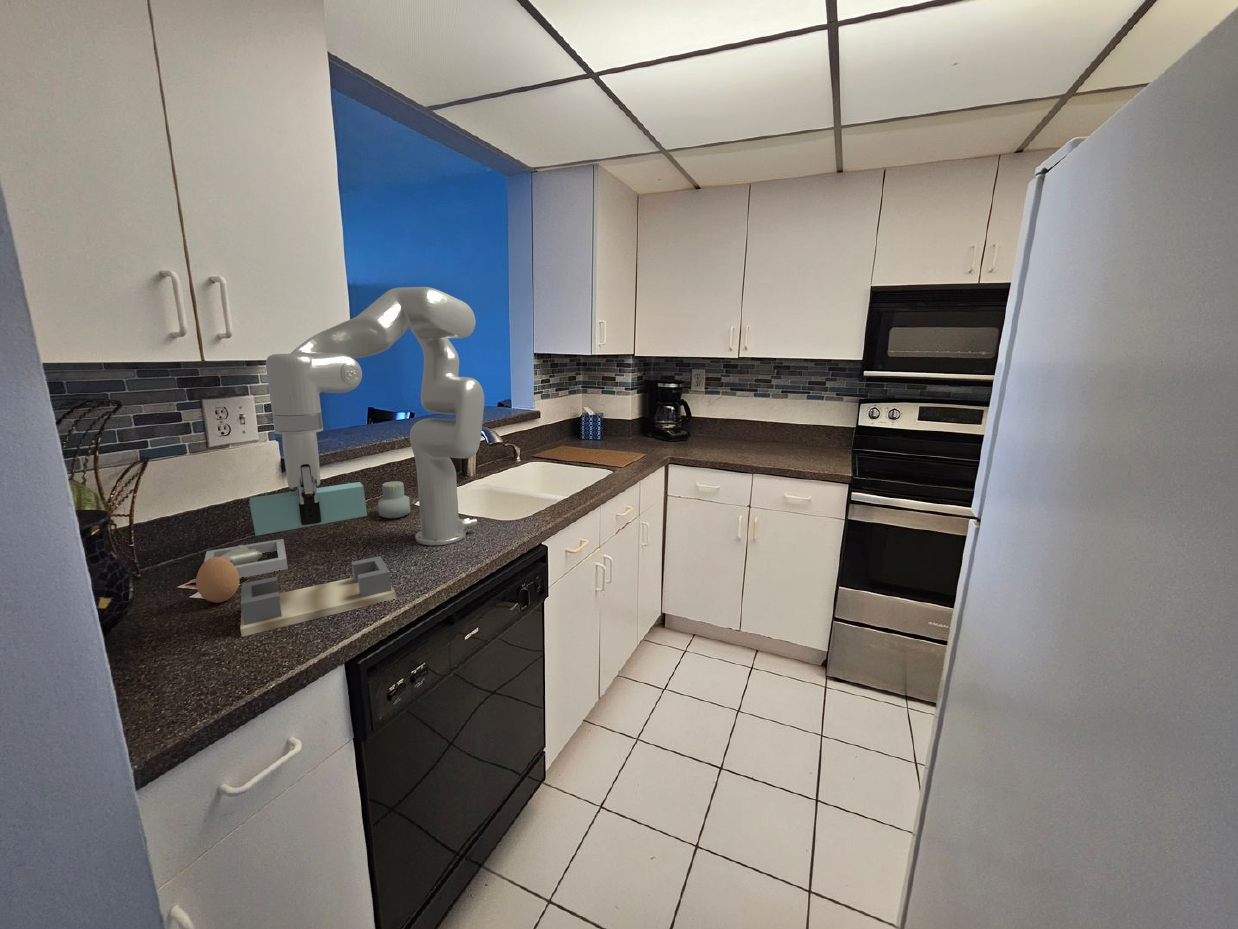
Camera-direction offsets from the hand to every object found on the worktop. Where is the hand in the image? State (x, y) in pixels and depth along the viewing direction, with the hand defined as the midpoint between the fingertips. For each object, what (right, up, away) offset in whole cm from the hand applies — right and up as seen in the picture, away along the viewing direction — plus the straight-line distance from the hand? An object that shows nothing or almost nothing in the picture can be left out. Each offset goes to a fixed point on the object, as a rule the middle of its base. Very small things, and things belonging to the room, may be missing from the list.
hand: (310, 519), depth 96 cm
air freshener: (-9, -5, +57) cm, 58 cm away
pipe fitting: (-29, -13, +21) cm, 38 cm away
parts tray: (-27, -13, +21) cm, 37 cm away
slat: (0, -1, 0) cm, 1 cm away
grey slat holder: (0, -15, +3) cm, 16 cm away
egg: (-20, -17, +4) cm, 27 cm away
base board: (0, -17, +4) cm, 17 cm away
